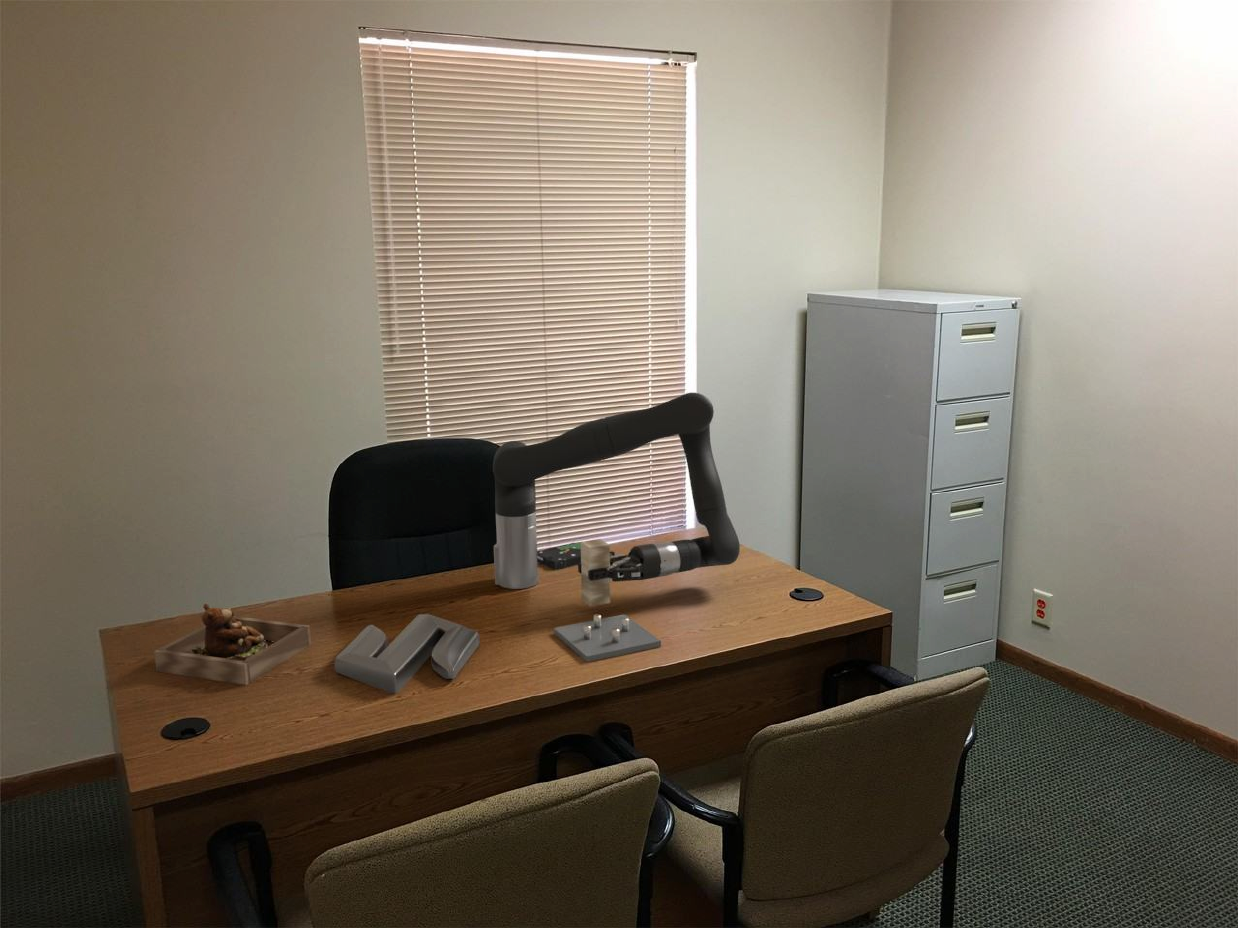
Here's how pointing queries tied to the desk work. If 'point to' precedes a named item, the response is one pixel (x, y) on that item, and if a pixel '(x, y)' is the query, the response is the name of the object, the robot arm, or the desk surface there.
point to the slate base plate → (606, 637)
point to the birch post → (592, 558)
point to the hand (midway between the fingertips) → (584, 571)
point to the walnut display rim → (185, 663)
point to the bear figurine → (228, 636)
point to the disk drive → (560, 556)
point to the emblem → (407, 652)
